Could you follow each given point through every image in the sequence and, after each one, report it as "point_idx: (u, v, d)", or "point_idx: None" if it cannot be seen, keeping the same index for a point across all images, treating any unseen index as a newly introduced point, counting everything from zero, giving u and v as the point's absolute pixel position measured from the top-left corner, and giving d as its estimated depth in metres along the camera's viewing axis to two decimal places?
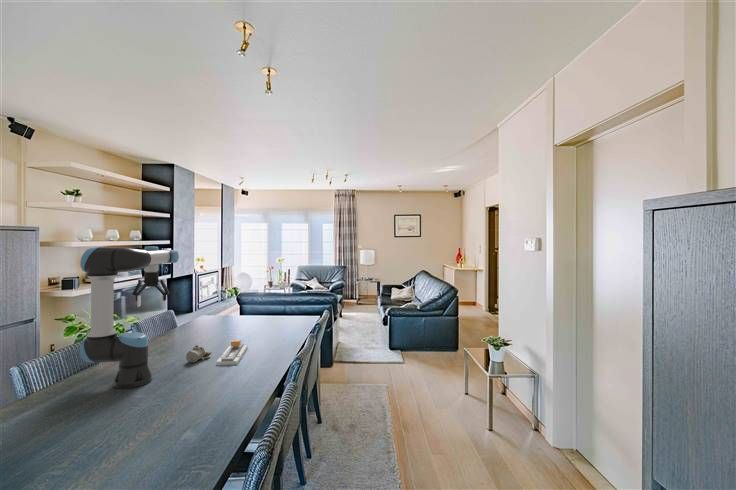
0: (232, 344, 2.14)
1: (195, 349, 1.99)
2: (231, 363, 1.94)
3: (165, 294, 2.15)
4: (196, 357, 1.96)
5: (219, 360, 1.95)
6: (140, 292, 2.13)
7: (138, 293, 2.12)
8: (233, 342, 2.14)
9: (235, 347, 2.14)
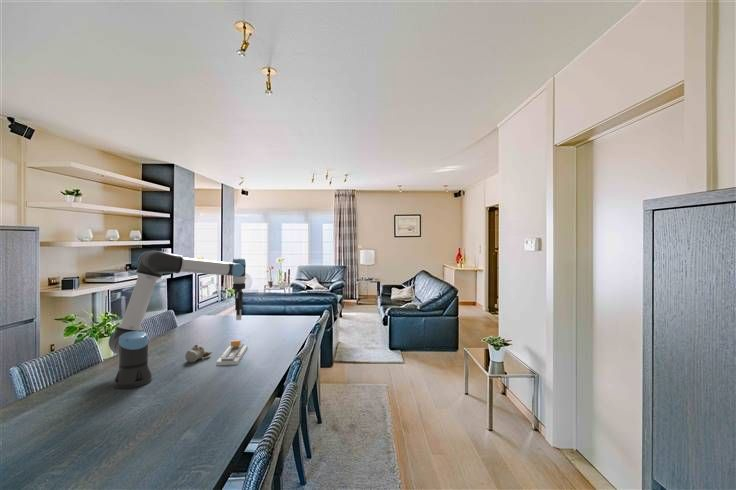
0: (232, 344, 2.14)
1: (194, 349, 1.99)
2: (231, 363, 1.94)
3: (236, 309, 2.21)
4: (195, 357, 1.96)
5: (219, 360, 1.95)
6: None
7: None
8: (233, 342, 2.14)
9: (235, 347, 2.14)
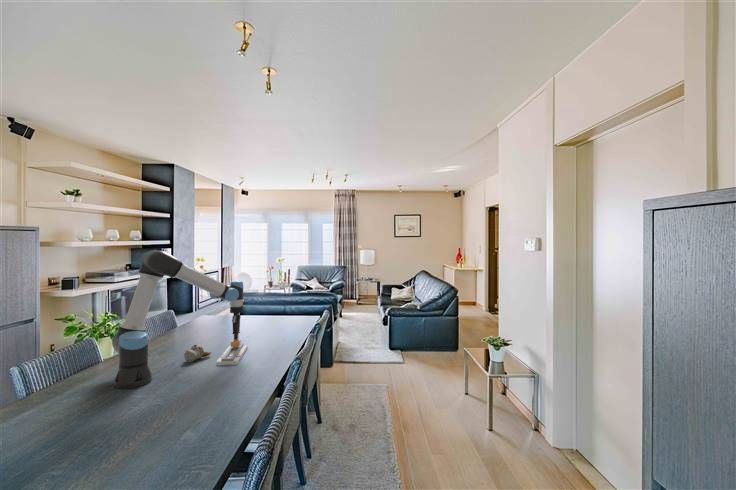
0: (232, 344, 2.13)
1: (193, 348, 2.00)
2: (231, 363, 1.94)
3: (234, 334, 2.15)
4: (193, 357, 1.97)
5: (219, 360, 1.95)
6: None
7: None
8: (233, 342, 2.13)
9: (235, 347, 2.14)
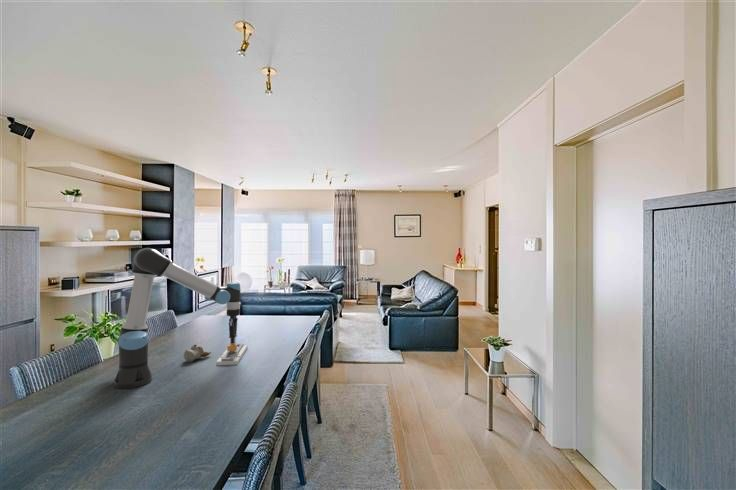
0: (228, 349, 2.05)
1: (193, 348, 2.00)
2: (231, 363, 1.94)
3: None
4: (192, 356, 1.97)
5: (219, 360, 1.95)
6: None
7: None
8: (229, 346, 2.05)
9: (232, 352, 2.05)
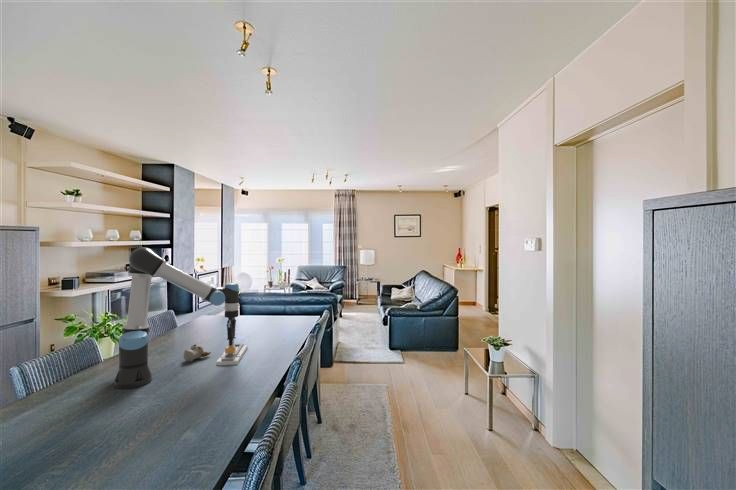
0: (226, 351, 2.00)
1: (192, 348, 2.00)
2: (231, 363, 1.94)
3: (229, 339, 2.02)
4: (192, 356, 1.97)
5: (219, 360, 1.95)
6: None
7: None
8: (227, 349, 2.00)
9: (230, 354, 2.01)
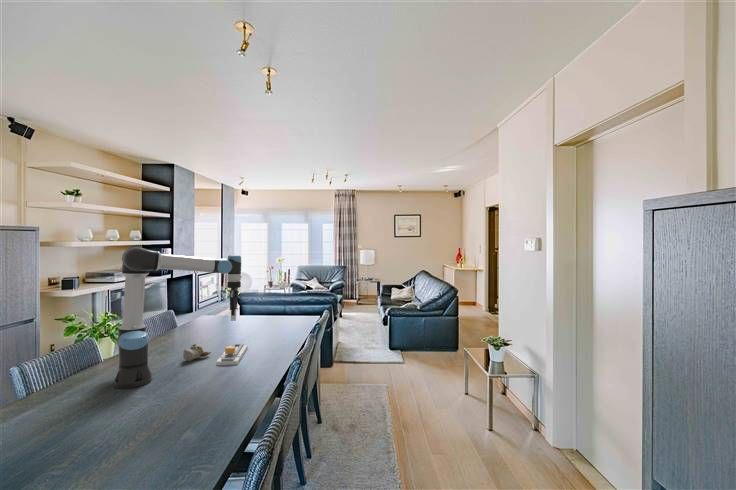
0: (226, 351, 2.00)
1: (192, 348, 2.01)
2: (231, 363, 1.94)
3: (231, 309, 2.07)
4: (191, 356, 1.98)
5: (219, 360, 1.95)
6: None
7: None
8: (227, 349, 2.00)
9: (230, 354, 2.00)
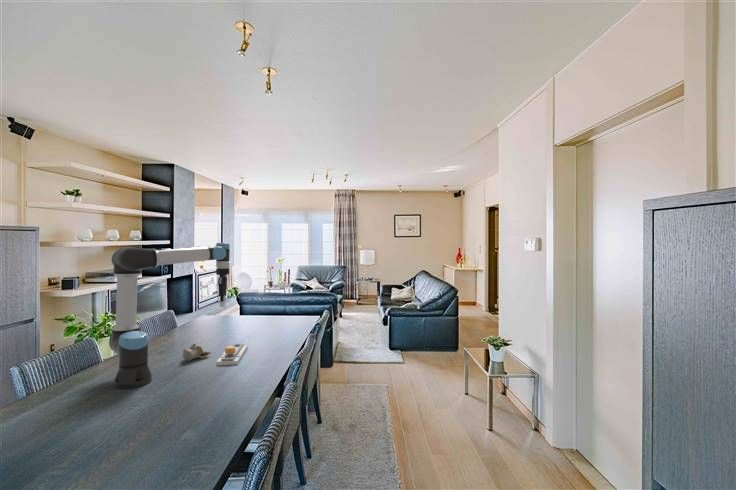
0: (226, 351, 2.00)
1: (191, 348, 2.01)
2: (231, 363, 1.94)
3: (220, 296, 2.12)
4: (190, 356, 1.98)
5: (219, 360, 1.95)
6: None
7: None
8: (227, 349, 2.00)
9: (230, 354, 2.00)
